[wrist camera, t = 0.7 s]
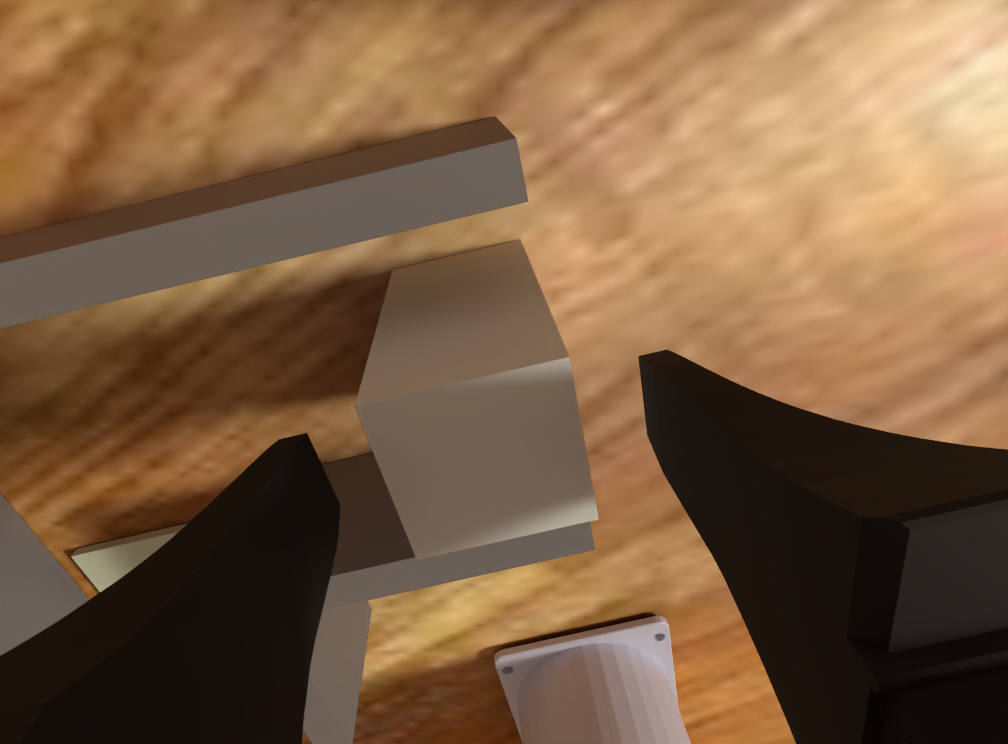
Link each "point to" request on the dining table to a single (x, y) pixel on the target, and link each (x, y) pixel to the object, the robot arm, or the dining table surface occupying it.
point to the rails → (246, 244)
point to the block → (474, 404)
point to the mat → (120, 555)
